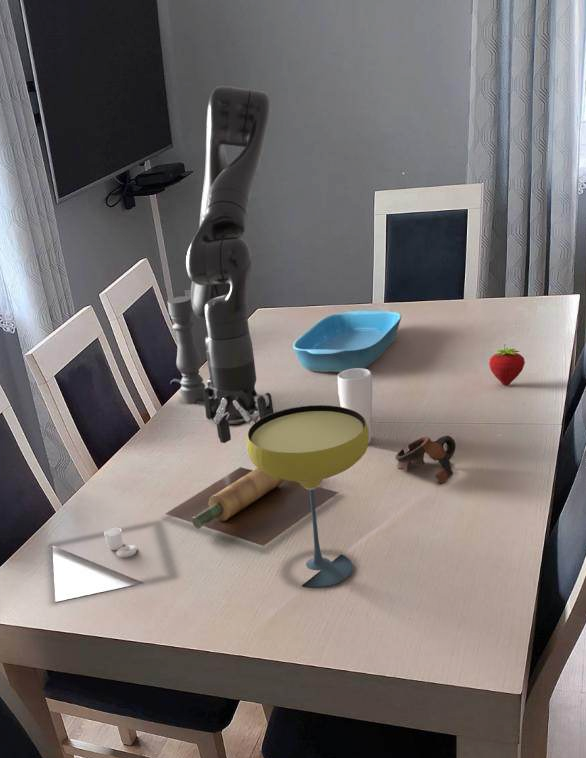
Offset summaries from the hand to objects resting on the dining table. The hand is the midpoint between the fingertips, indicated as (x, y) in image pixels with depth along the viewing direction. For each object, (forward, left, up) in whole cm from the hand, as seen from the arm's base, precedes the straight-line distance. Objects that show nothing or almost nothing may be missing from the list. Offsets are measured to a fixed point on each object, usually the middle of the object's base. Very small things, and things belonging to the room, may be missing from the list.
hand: (243, 445), depth 157 cm
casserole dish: (-31, +78, -13) cm, 85 cm away
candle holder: (-50, +38, -13) cm, 64 cm away
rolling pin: (0, 0, -12) cm, 12 cm away
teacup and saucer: (-10, -27, -13) cm, 32 cm away
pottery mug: (+22, +27, -13) cm, 37 cm away
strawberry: (+15, +72, -13) cm, 74 cm away
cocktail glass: (+24, -11, -13) cm, 29 cm away
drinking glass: (+2, +33, -13) cm, 35 cm away
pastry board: (0, 0, -13) cm, 13 cm away
